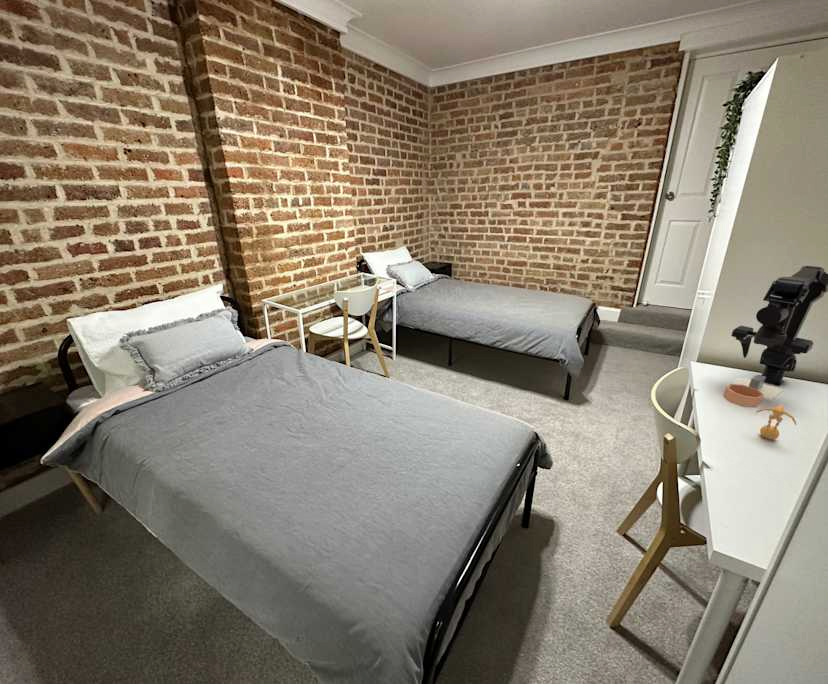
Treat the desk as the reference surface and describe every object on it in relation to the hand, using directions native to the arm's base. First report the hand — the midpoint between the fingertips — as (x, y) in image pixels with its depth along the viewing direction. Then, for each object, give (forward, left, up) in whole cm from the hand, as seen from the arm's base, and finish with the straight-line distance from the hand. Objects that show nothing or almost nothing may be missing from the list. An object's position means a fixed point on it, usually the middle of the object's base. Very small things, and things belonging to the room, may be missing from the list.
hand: (762, 362), depth 123 cm
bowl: (+6, -1, -13) cm, 15 cm away
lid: (-6, -1, -13) cm, 14 cm away
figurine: (+26, +11, -13) cm, 31 cm away
